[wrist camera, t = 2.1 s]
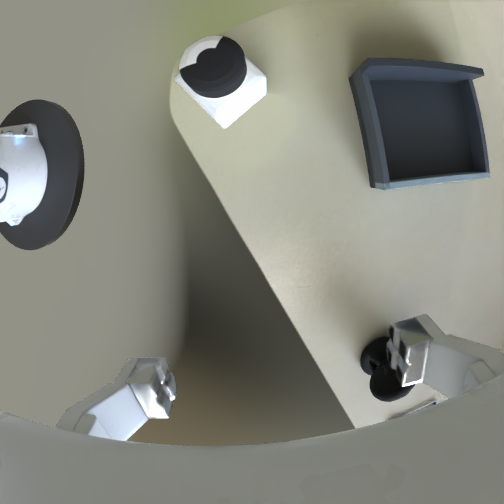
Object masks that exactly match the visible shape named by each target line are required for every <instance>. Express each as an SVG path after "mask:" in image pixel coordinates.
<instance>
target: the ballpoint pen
mask: <svg viewBox="0 0 504 504" xmlns="http://www.w3.org/2000/svg"><path fill="white" fill-rule="evenodd" d="M435 404H436V402H434V403H432V404H430V405H427V406H425V407H423V408H421V409H419V410H422V409H425V408H427V407H430V406H433V405H435ZM419 410H417V411H419ZM415 412H416V411H415ZM412 413H413V412H412Z"/></svg>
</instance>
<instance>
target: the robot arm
mask: <svg viewBox="0 0 504 504" xmlns="http://www.w3.org/2000/svg"><path fill="white" fill-rule="evenodd" d="M47 172H48V171H47V159H46V155H45V152H44V149H43V147H42V145H41V143H40V141H39V138H38V131H37V126H36V124H34V123H30V124H22V125H15V126H8V127H2V128H0V222H4V221H7V222H8V223H9V224H10V225H11V226H12V225H19V224H20V222H21V221H22V219H23V218H24V216H26V215H27V214H29V213H31V212H32V211H34V210H35V209H36V208H37V206H38V205H39V203H40V202H41V200H42V197H43V195H44V192H45V188H46V183H47ZM387 334H388V336H389V337H390V340H389V341H388V343H387V350H386V352H387V359H388V362H389V364H390V366H391V368H393V369H395V370H396V375H395V376H396V377H397V379H398V381H399V383H400V385H401V387H404V386H408V385H411V384H415V383H418V382H421V381H423V383H425V384H427V385H428V386H430V387H432V388H433V389H435V390H437V391H438V392H440V393H442V394H443V395H445V396H447V397H448V398H450V399H448V400H445V401H443V402H440V403H438V404H435V405H433V406H430V407H427V408H425V409H422V410H419V411H416V412H413V413H410V414H407V415H404V416H401V417H398V418H395V419H391V420H388V421H384V422H381V423H377V424H373V425H369V426H365V427H361V428H357V429H353V430H349V431H344V432H339V433H334V434H329V435H323V436H318V437H312V438H305V439H299V440H292V441H283V442H275V443H264V444H251V445H234V446H179V445H161V444H148V443H138V442H129V441H126V440H127V439H128V438H129V437H130V436H131V435H132V434H133V433H134V432H136V431H137V430H138V429H139V428H140V427H141V426H142V425H143V424H144V423H145V422H146V421H147V420H148V418H157V419H160V418H162V419H163V418H164V419H167V418H169V415H170V412H171V409H172V404H171V401H172V400H173V399H175V397H176V394H177V383H176V379H175V377H174V375H173V374H172V373H171V372H169V371H168V369H169V367H170V365H169V363H168V361H167V359H166V358H164V357H154V358H130V359H128V360H127V361H126V363H125V365H124V366H123V368H122V369H121V371H120V373H119V374H118V376H117V378H116V379H115V381H114V383H109V384H108V385H106V386H104V387H103V388H101V389H100V390H98V391H97V392H95V393H93V394H91V395H90V396H88V397H87V398H85V399H83V400H82V401H80V402H78V403H77V404H75V405H73V406H72V407H70V408H68V409H67V410H66V411H65V413H64V414H63V416H62V418H61V419H60V420H59V422H58V424H57V425H56V427H51V426H48V425H44V424H40V423H37V422H34V421H30V420H27V419H24V418H21V417H18V416H15V415H12V414H10V413H7V412H4V411H2V410H0V504H504V354H503V353H502V352H501V351H500V350H498V349H495V348H492V347H488V346H485V345H482V344H479V343H475V342H472V341H469V340H466V339H463V338H459V337H456V336H453V335H450V334H449V335H445V333H444V332H443V331H442V330H441V329H440V328H439V327H438V326H437V325H436V324H435V322H434V321H433V320H432V319H431V318H430V317H429V316H428V315H427V314H422V315H419V316H416V317H413V318H410V319H407V320H403V321H399V322H396V323H392V324H389V326H388V332H387Z"/></svg>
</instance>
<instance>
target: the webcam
mask: <svg viewBox="0 0 504 504" xmlns="http://www.w3.org/2000/svg"><path fill="white" fill-rule="evenodd" d="M389 340H390V337H389V336H385V337H381V338H378V339H376V340H374V341H373V342H371V343H370V344H369V345H368V346H367V347H366V348H365V350H364V351H363V353H362V355H361V360H360V362H361V367H362V369H363V371H364V372H365V373H367V374H369V375H371V379H370V390H371V392H372V394H373V396H374V397H376V398H377V399H379V400H381V401H385V402H391V401H394V400H397V399H400V398H402V397H404V396H406V395H407V394H408V393H409V392H410V390H411V389H412V388H413V387H414V386H415V384H416V383H415V384H411V385H408V386H404V387H401V385H400V383H399V381H398V379H397V377H396V376H395V375H396V370H395V369H393V368H391V366H390V364H389V362H388V359H387V352H386V350H387V343H388V341H389ZM370 358H371V359H373V360H374V362H375V363H376V365H377V366H378V367H377V368H376V367H372V366H371V365H370V363H369V359H370Z"/></svg>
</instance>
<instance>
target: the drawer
mask: <svg viewBox="0 0 504 504" xmlns="http://www.w3.org/2000/svg"><path fill="white" fill-rule="evenodd" d="M482 76H484V72H483V69H482V68H476V67H471V66H465V65H459V64H452V63H444V62H436V61H426V60H414V59H395V58H367V59H366V60H365V61H364V62H363V63H362V64H361V65H360V67H359V68H358V69H357V70H356V71H355V72H354V73H353V74H352V75H351V76H350V77H349V82H350V86H351V90H352V94H353V98H354V102H355V106H356V110H357V115H358V119H359V124H360V129H361V134H362V139H363V144H364V149H365V155H366V161H367V167H368V173H369V180H370V186H371V188H376V189H382V190H390V189H397V188H405V187H412V186H420V185H429V184H437V183H446V182H455V181H464V180H474V179H484V178H490V171H489V162H488V154H487V146H486V140H485V134H484V128H483V123H482V118H481V113H480V109H479V104H478V100H477V96H476V92H475V88H474V85H473V81H472V80H473V79H476V78H479V77H482Z"/></svg>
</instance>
